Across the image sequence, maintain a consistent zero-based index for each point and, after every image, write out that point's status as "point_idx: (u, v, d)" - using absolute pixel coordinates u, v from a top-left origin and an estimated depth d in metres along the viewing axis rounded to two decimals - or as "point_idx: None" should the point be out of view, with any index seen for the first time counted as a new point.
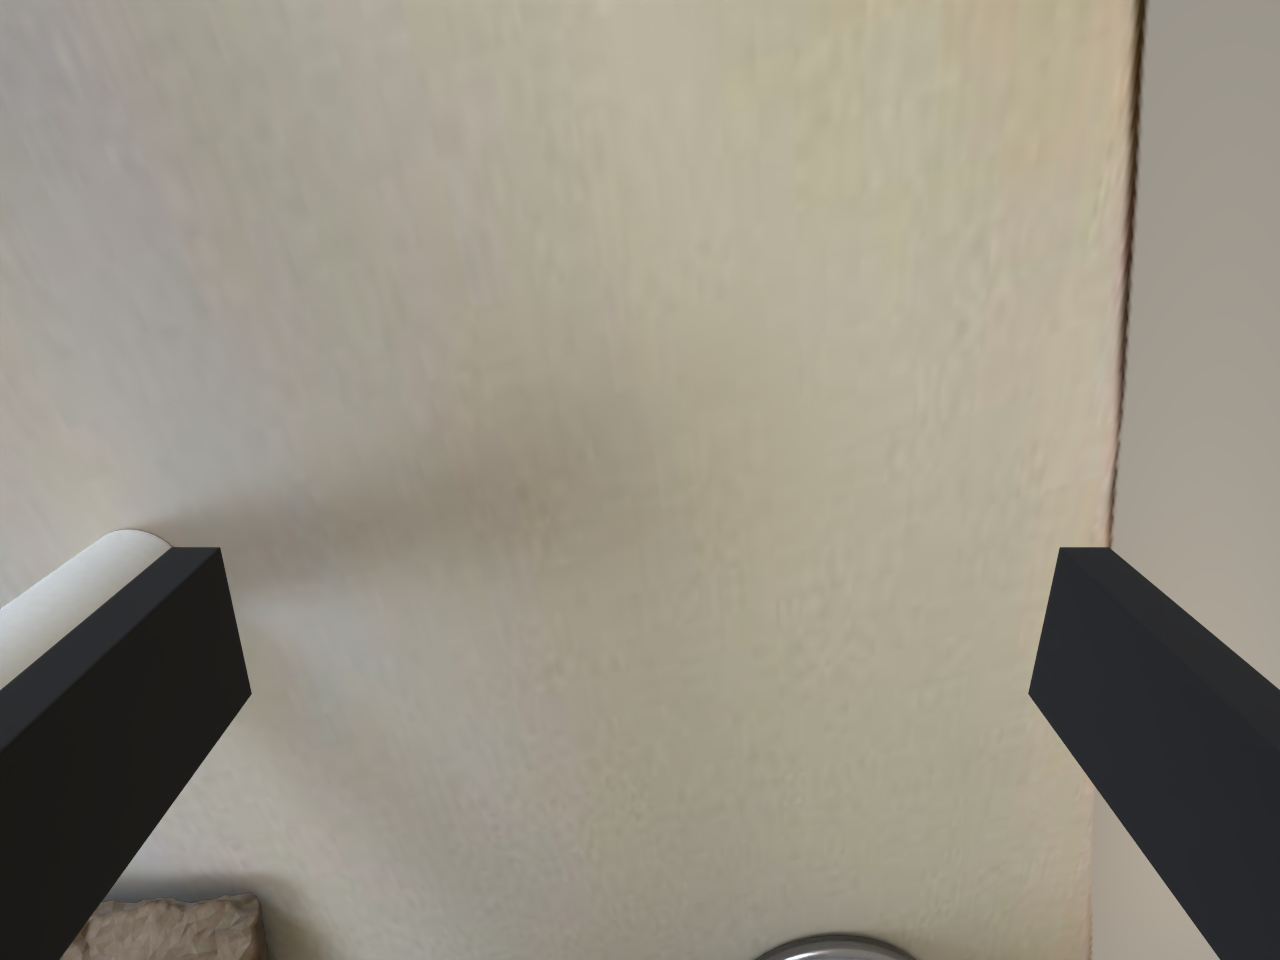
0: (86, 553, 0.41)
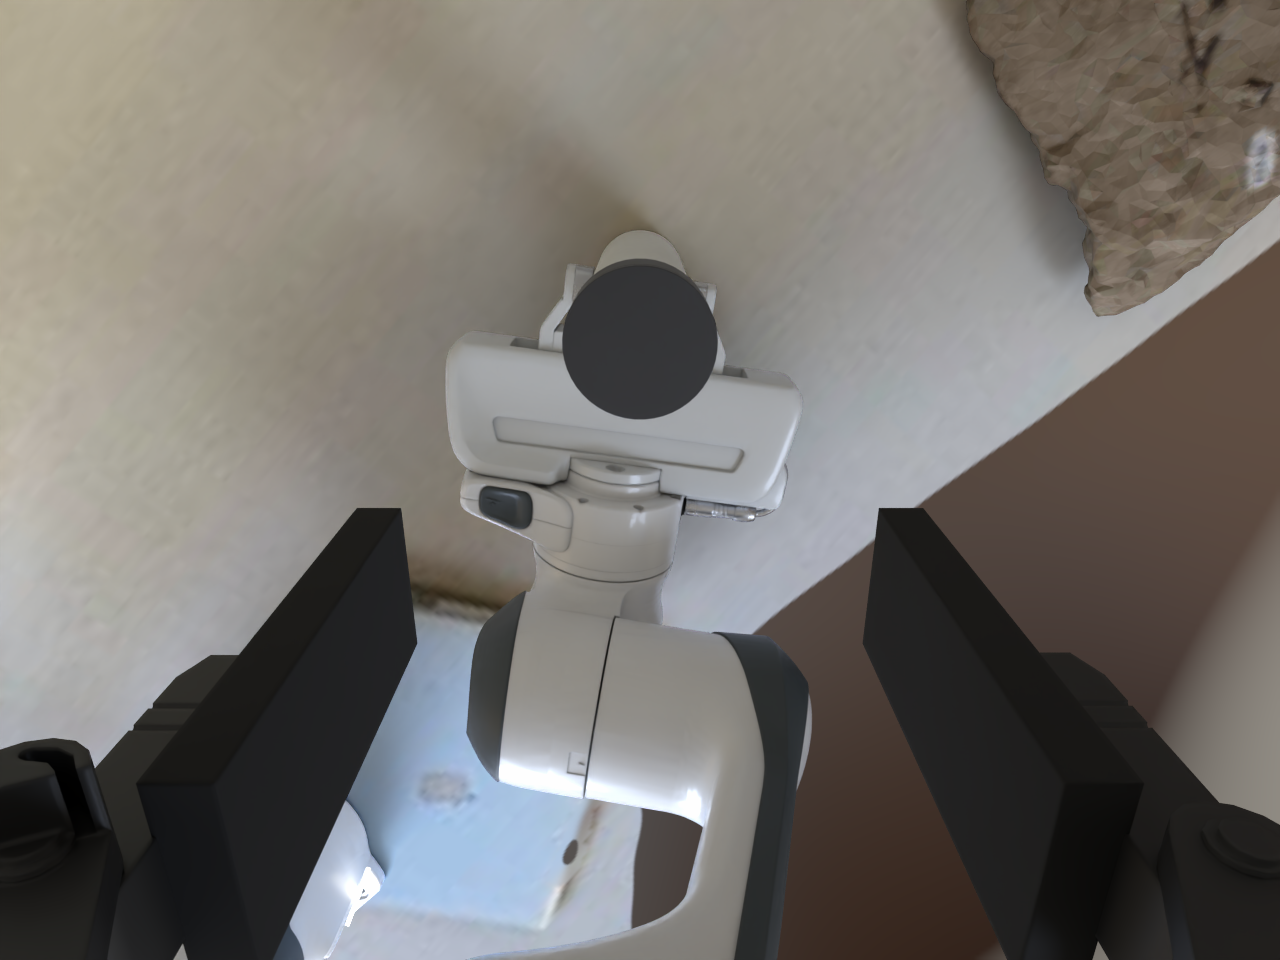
0: None
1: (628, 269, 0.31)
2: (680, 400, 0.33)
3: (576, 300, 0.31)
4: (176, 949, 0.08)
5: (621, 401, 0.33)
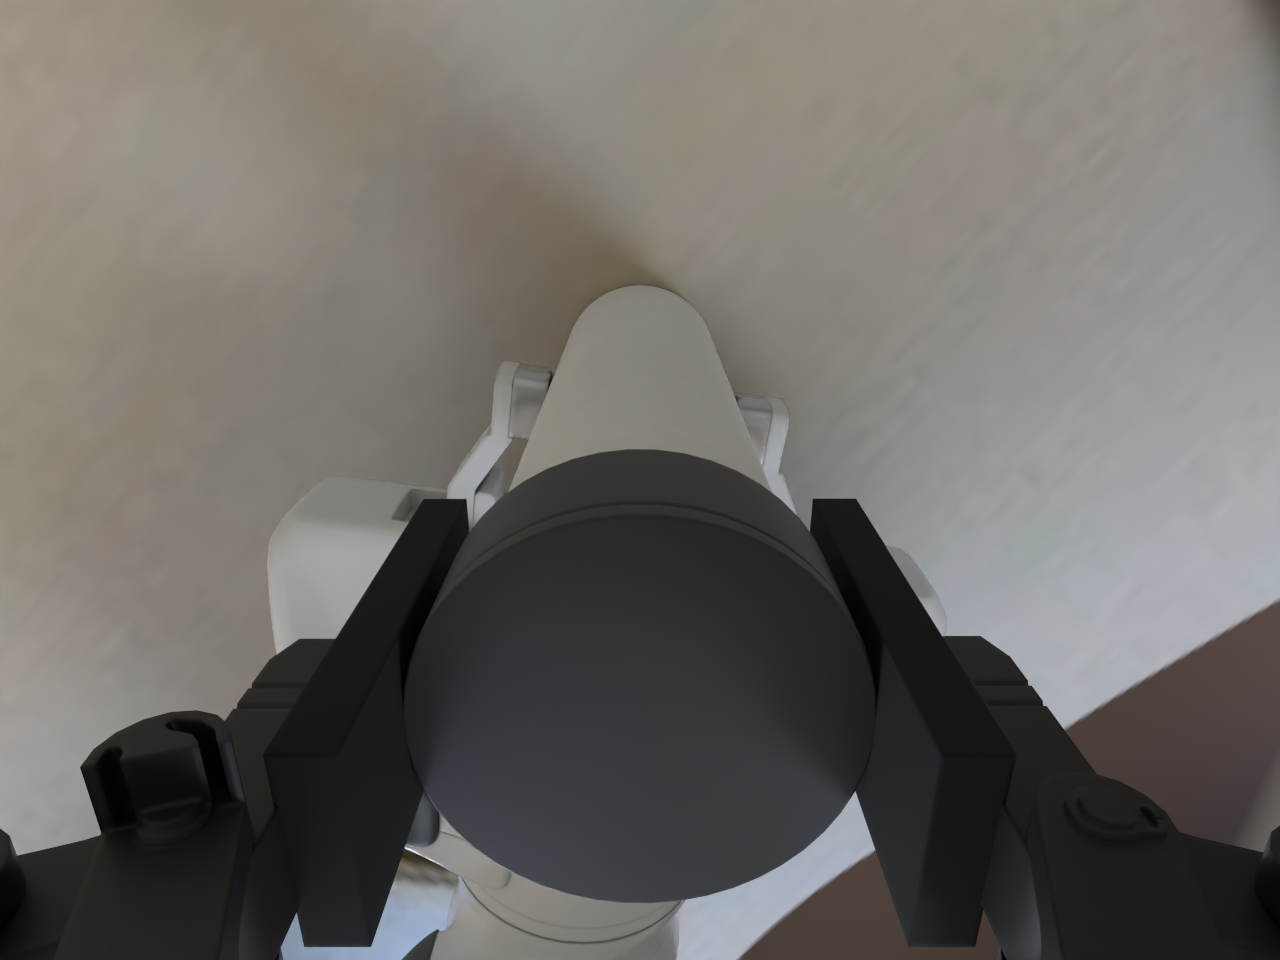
0: None
1: (602, 527, 0.09)
2: (756, 861, 0.11)
3: (438, 613, 0.10)
4: (292, 914, 0.09)
5: (586, 863, 0.11)
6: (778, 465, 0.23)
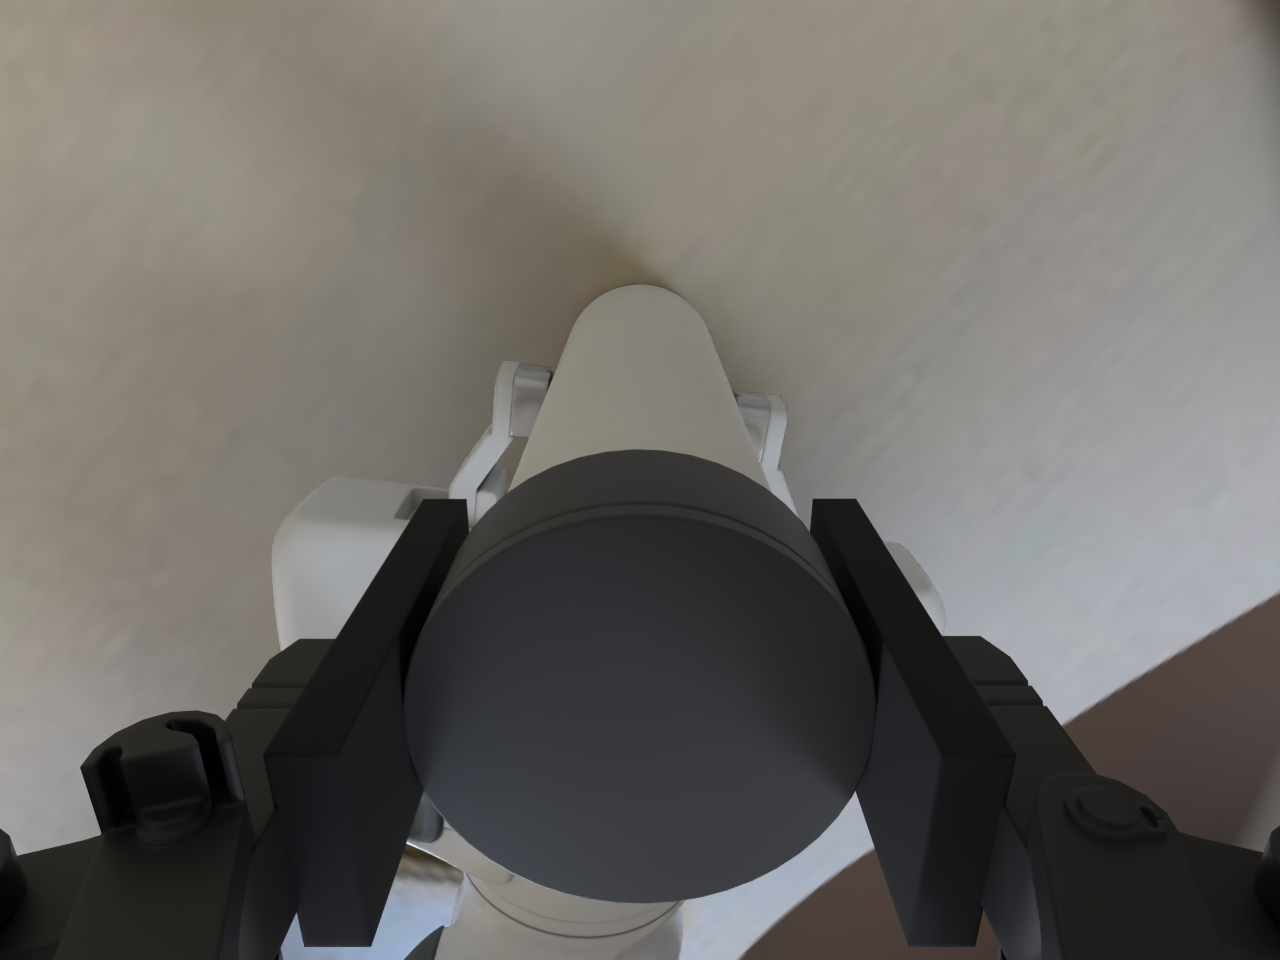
0: None
1: (467, 836, 0.11)
2: (741, 558, 0.10)
3: (612, 899, 0.12)
4: (293, 914, 0.09)
5: (825, 704, 0.10)
6: (777, 462, 0.23)
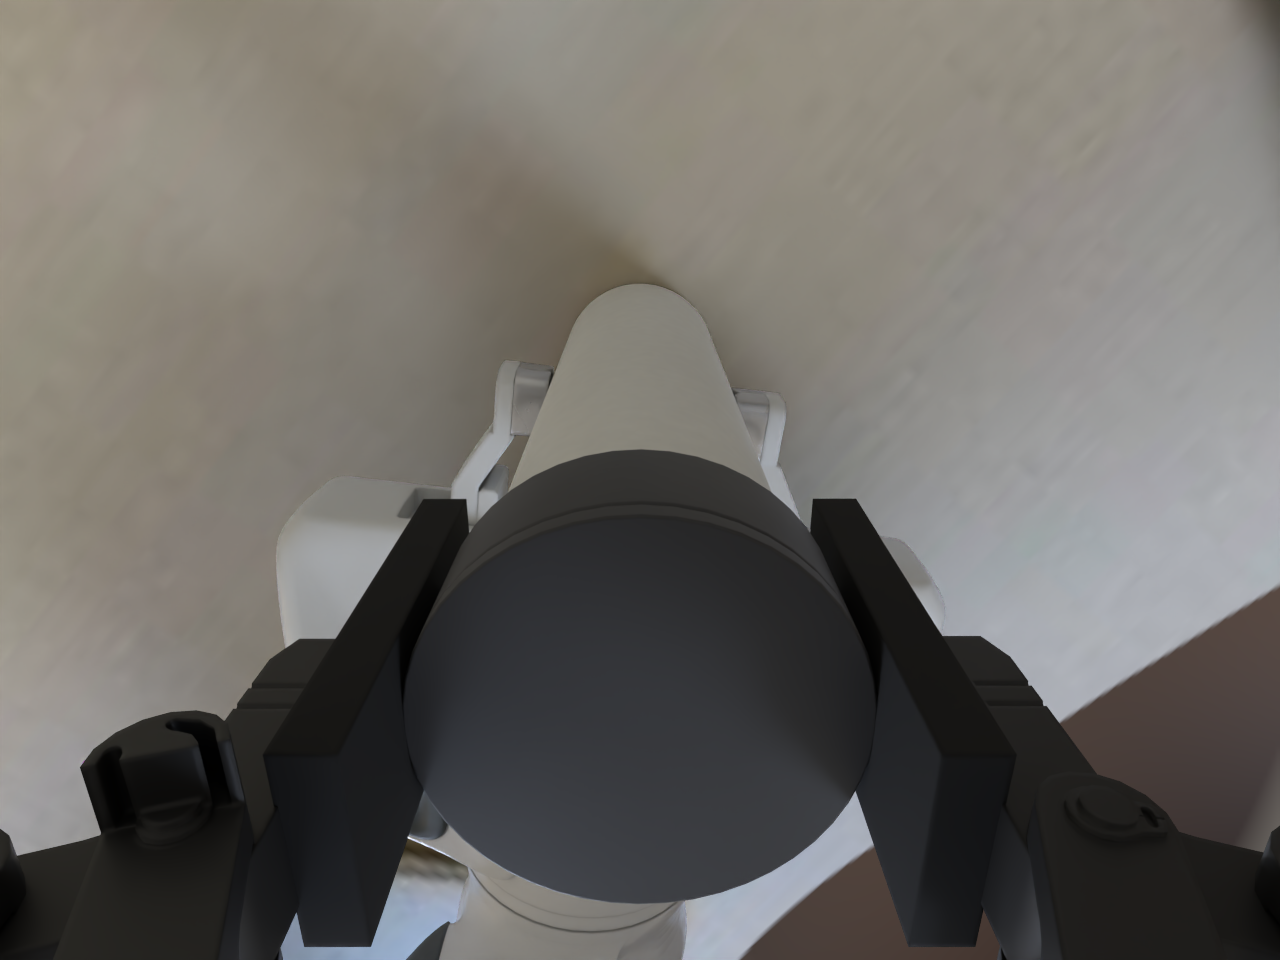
0: None
1: (837, 808, 0.11)
2: (426, 739, 0.10)
3: (865, 661, 0.10)
4: (292, 915, 0.09)
5: (516, 604, 0.10)
6: (776, 458, 0.23)
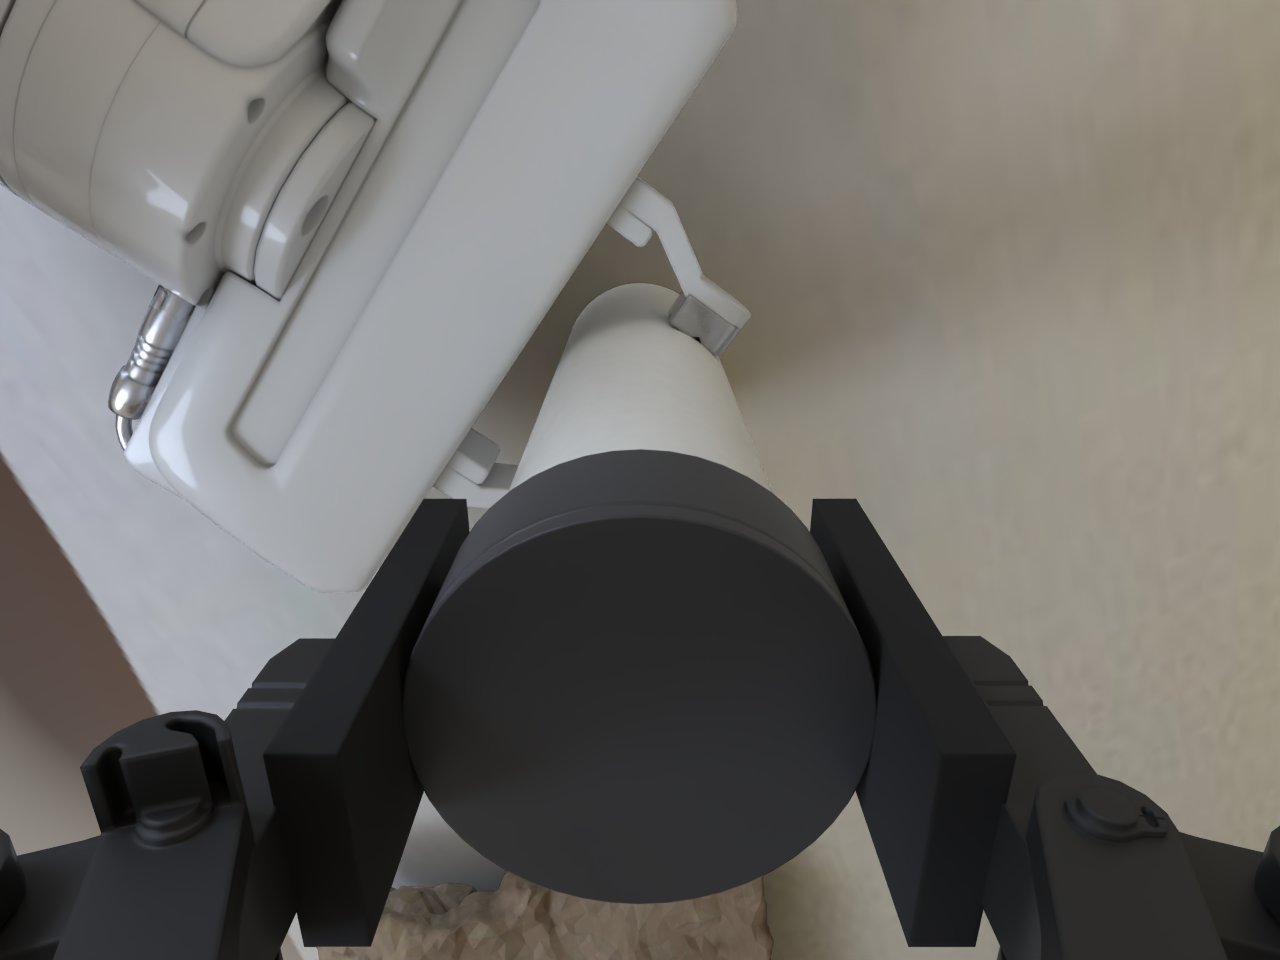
0: (615, 299, 0.26)
1: (837, 808, 0.11)
2: (426, 738, 0.10)
3: (865, 661, 0.10)
4: (292, 915, 0.09)
5: (516, 604, 0.10)
6: None
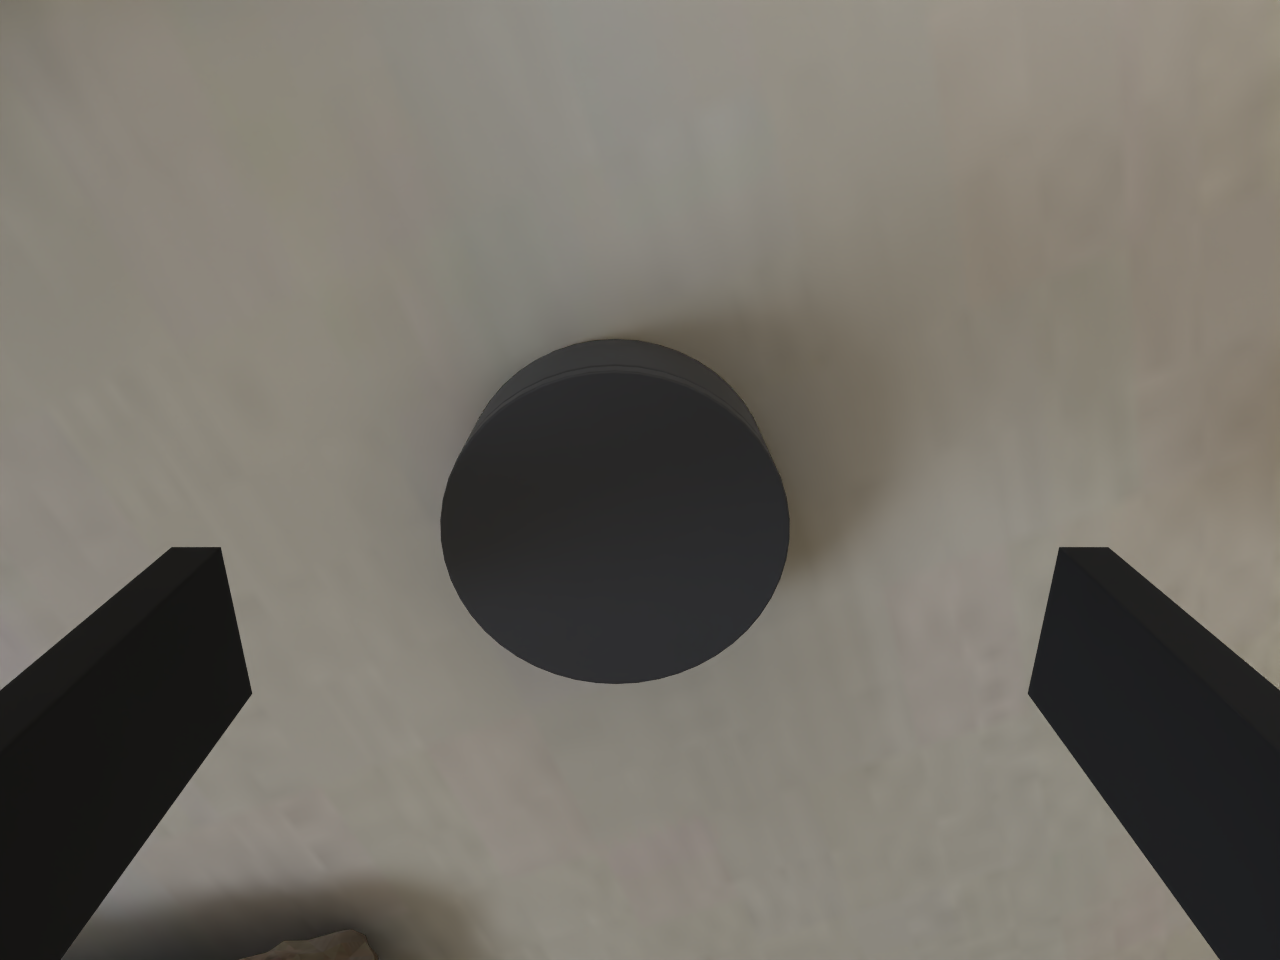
0: None
1: (763, 601, 0.15)
2: (458, 548, 0.14)
3: (779, 483, 0.14)
4: None
5: (524, 440, 0.13)
6: None
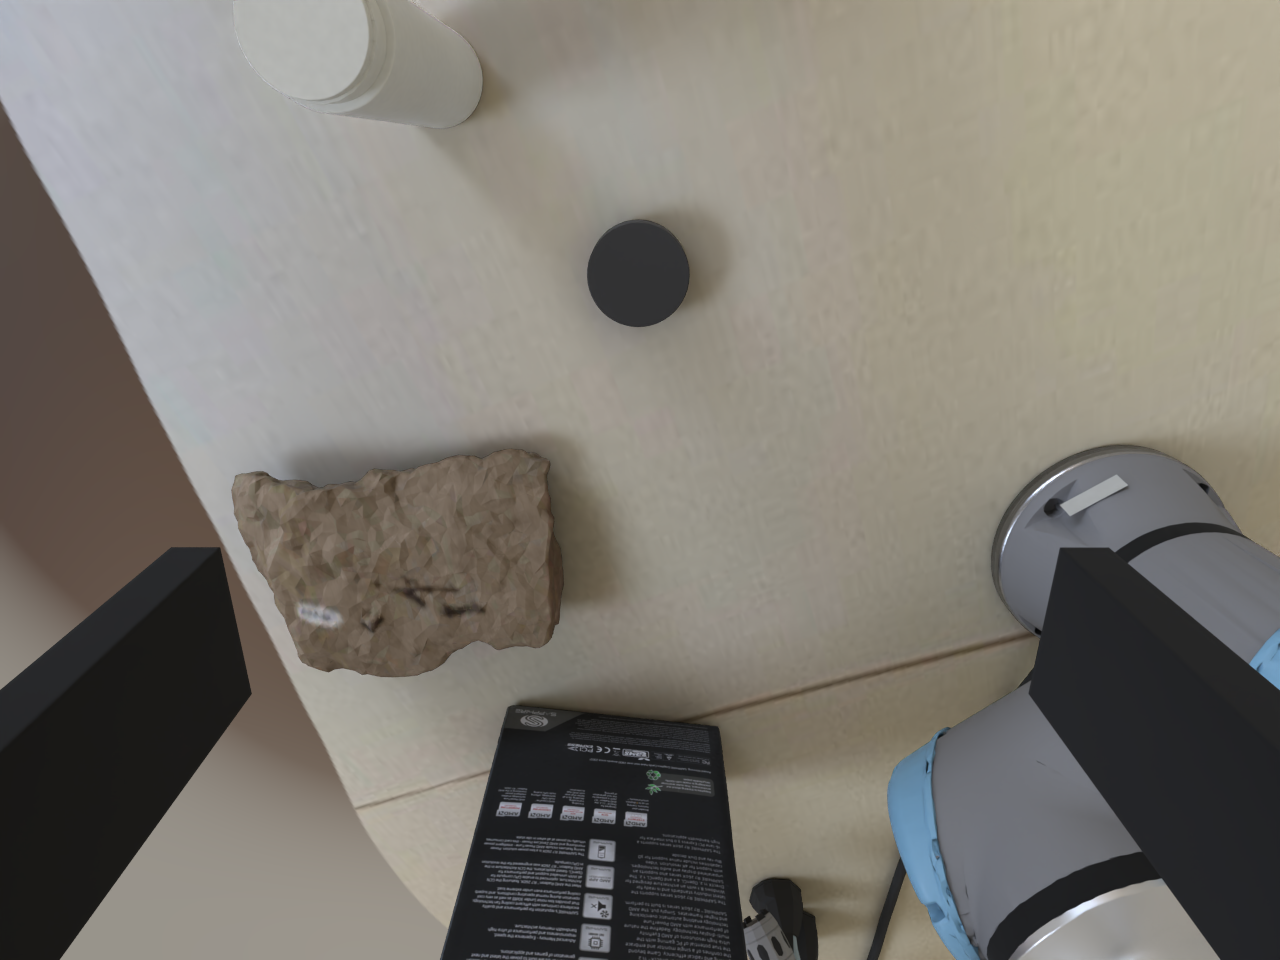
0: None
1: (682, 297, 0.49)
2: (592, 278, 0.48)
3: (685, 257, 0.48)
4: None
5: (613, 243, 0.48)
6: None
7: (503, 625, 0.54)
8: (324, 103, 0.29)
